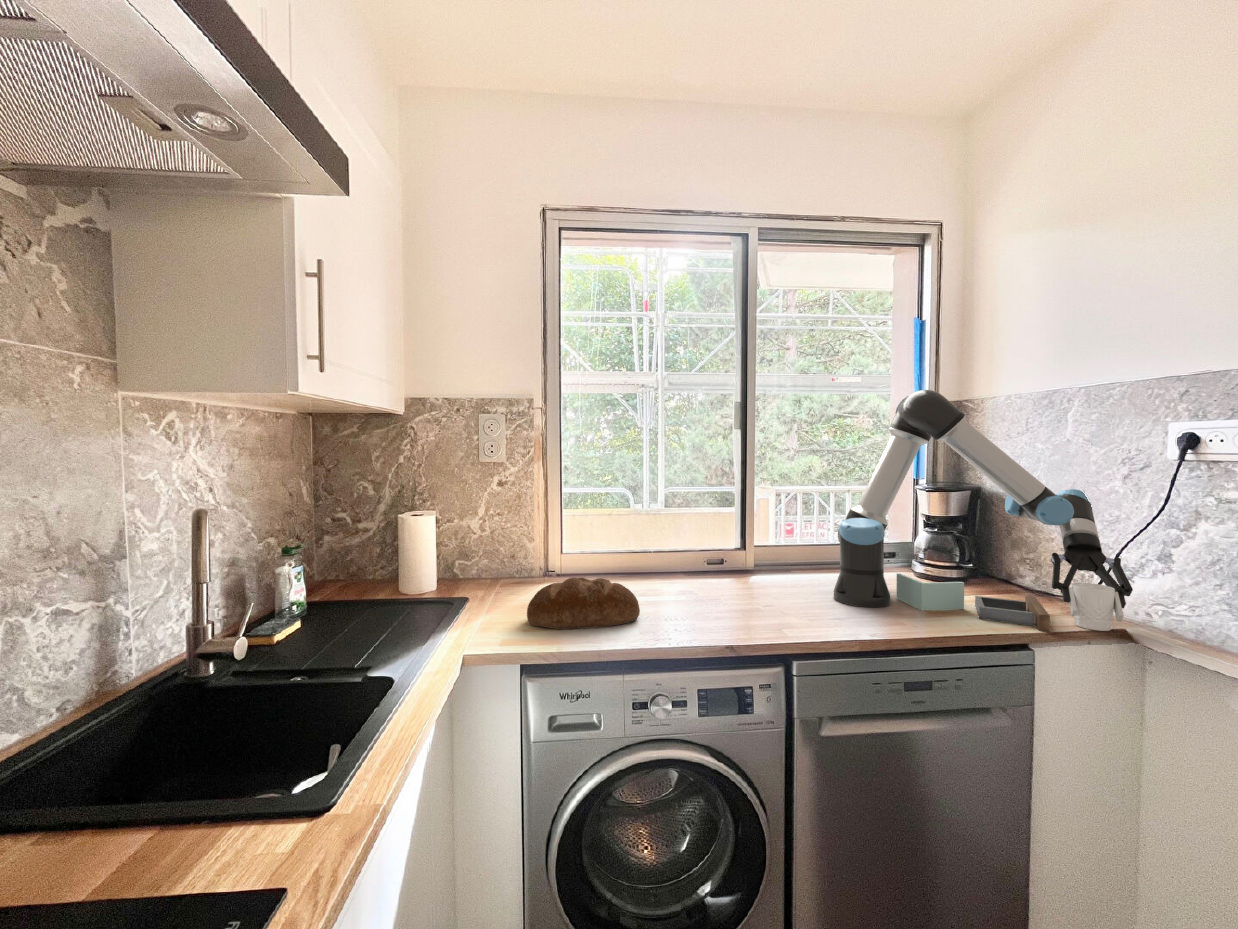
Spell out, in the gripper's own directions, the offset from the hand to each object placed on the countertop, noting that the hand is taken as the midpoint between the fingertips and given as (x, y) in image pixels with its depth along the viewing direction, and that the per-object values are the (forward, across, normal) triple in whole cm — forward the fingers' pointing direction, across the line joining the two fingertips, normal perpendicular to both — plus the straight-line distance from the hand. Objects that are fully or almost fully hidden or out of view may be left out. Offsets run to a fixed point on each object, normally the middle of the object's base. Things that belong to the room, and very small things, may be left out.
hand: (1096, 615), depth 127 cm
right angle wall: (-2, +35, -8) cm, 36 cm away
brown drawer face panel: (0, +11, -5) cm, 12 cm away
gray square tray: (0, +18, -5) cm, 18 cm away
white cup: (0, 0, -5) cm, 5 cm away
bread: (+41, +113, +35) cm, 125 cm away
